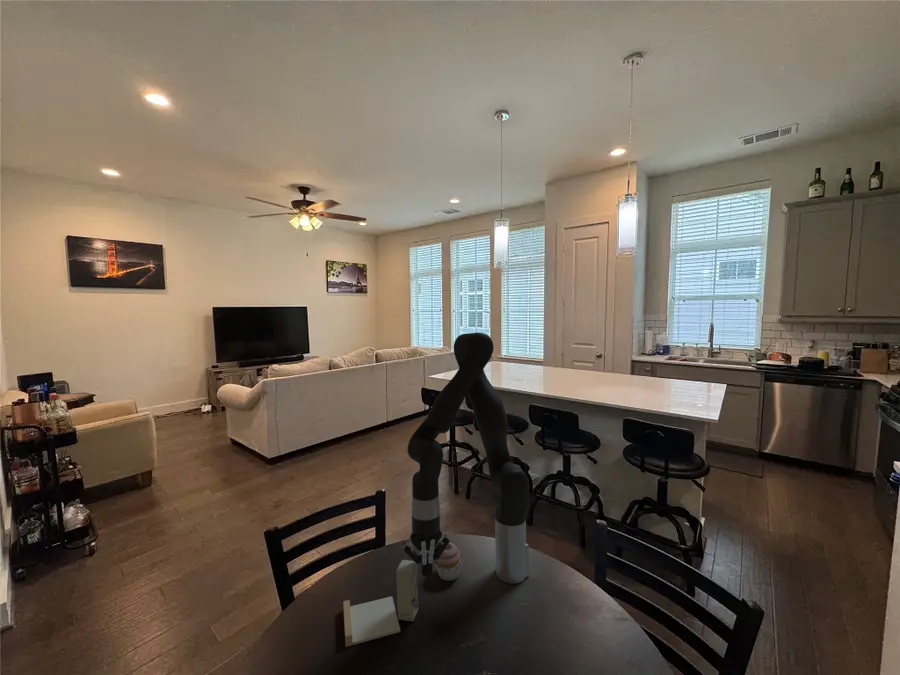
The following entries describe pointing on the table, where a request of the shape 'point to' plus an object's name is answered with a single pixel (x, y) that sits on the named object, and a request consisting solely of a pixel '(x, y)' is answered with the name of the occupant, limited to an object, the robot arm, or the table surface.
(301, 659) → the table surface
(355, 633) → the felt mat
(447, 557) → the cupcake
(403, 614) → the box
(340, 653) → the table surface
